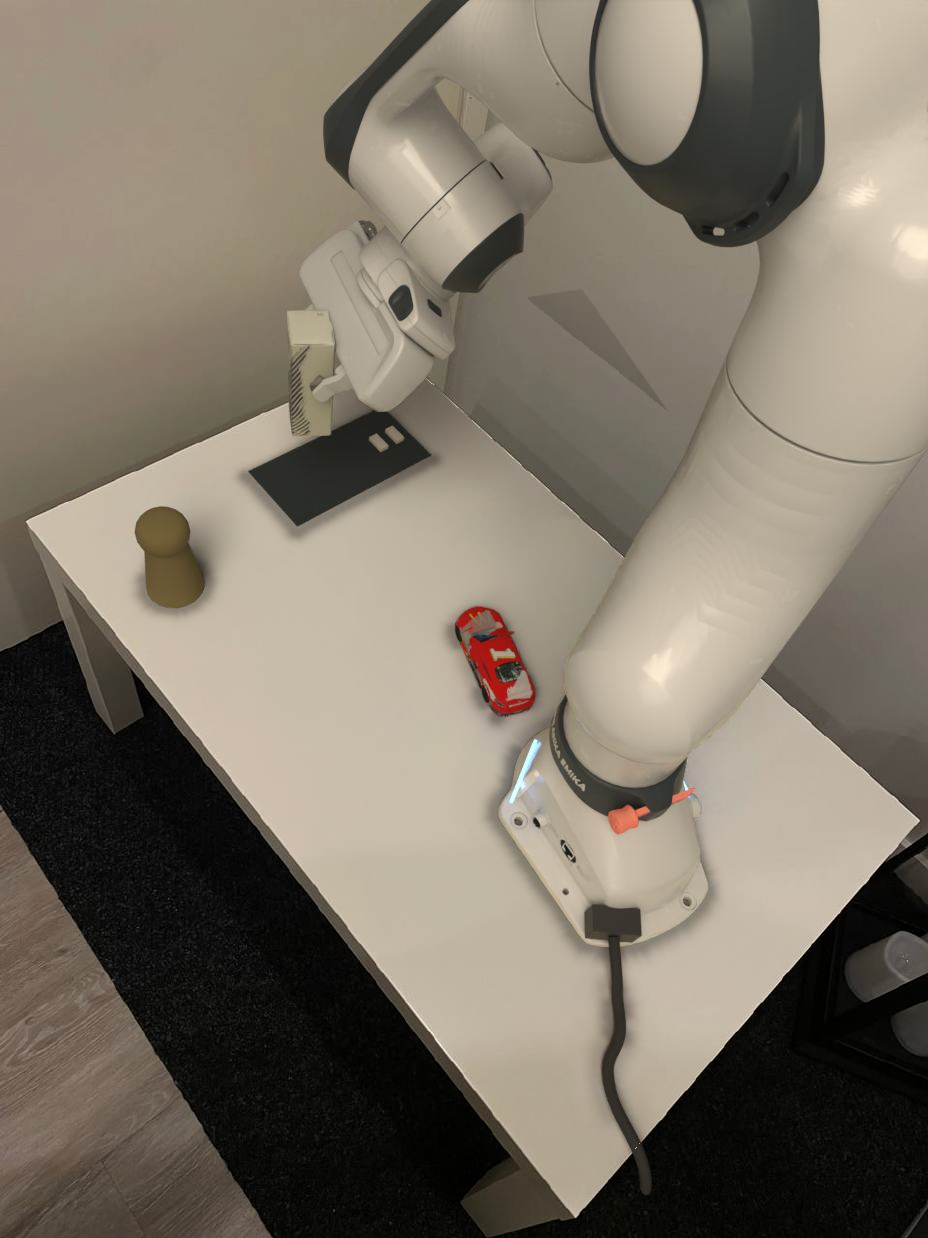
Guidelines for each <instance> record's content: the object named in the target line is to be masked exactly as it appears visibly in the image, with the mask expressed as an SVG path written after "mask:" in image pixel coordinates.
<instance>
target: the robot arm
mask: <svg viewBox="0 0 928 1238" xmlns="http://www.w3.org/2000/svg"><path fill="white" fill-rule="evenodd" d="M444 79H446V80H449V81H451V82H452V83H455V84H456V85H458V86H459V87H461V88H462V89H464V90H465V91H466V92H467V93H469V94H470V95H472V96H473V97H474V98H475V99H477V100H478V101H479V102H480V103H481V105H483V106H484V107H485V108H486V109H488V111H490V113H492V114H493V115H494V116H495V117H496V119H498V120H499V122H497V123H496V124H494V125H493V126H491V127H489V128H488V129H487V130H486V131H484V132H483V133H481V134H480V135H479V136H478V137H476V138H475V139H474V140H472V138H471V137H470V136H469V135H468V133H467V132H466V131H465V130H464V127H462V125H461V124H460V123H459V121H458V120H457V119H456V117H455V116H454V115H453V114H452V112H451V111H450V110H449V108H448V107H447V106H446V104H445V102H444V101H443V99H442V97H441V95H440V94H439V91H438V89H437V87H436V86H437V85H438V84H440V83H441V82H442V81H443V80H444ZM322 137H323V138H322V141H323V150H324V157H325V161H326V162H327V163H328V164H329V166H330V167H331V168H332V169H333V170H334V171H335V172H336V173H337V174H338V175H339V176H340V177H341V178H342V179H343V180H344V182H346V184H348V185H349V187H350V188H351V189H353V190H354V191H356V193H358V195H359V196H360V197H361V198H362V200H363V201H364V202H365V203H366V205H367V206H368V207H369V208H370V209H371V210H372V212H373V213H374V214H375V216H376V217H377V218H378V220H380V221H381V222H382V224H383V227H381V229H380V230H379V231H378V230H377V227H376V226H375V224H374V223H373V222H372V221H371V220H363V219H362V220H355V221H353V222H352V223H350V225H349V226H347V228H345V229H341V230H339V231H337V232H336V233H334V234H333V235H332V236H330V237H329V238H328V239H326V240H325V241H324V242H323V243H322V244H321V245H319V246H318V247H317V248H315V250H313V251H312V253H310V254H309V255H308V256H307V257H306V258H305V259H304V260H303V261H302V262H301V263H302V264H301V265H300V268H299V272H298V277H299V279H300V282H301V283H302V285H303V287H304V290H305V291H306V293H307V296H308V297H309V300H310V302H311V304H310V305H309V306H308V307H306V309H305V310H328V311H329V312H330V315H331V319H332V324H333V331H334V338H335V355H336V356H337V358H338V360H339V362H340V364H339V366H337V367H336V368H335V369H334V376H332V377H329V378H327V379H325V378H324V377H322V376H320V375H319V376H318V377H317V378H316V379H315V380H314V382H312V383H311V384H310V385H309V387H310V390H311V392H312V394H313V396H314V398H315V399H317V400H318V401H320V402H326V401H327V400H328V399H329V398H330V397H331V396H332V395H333V396H334V395H335V394H338V393H342V392H347V391H350V390H351V391H352V390H353V391H354V393H355V397H357V399H358V400H359V401H360V402H361V403H362V404H364V405H365V406H367V407H368V408H369V409H372V411H374V410H375V411H377V412H386V411H388V412H390V411H392V410H394V409H395V408H397V407H398V406H399V404H401V403H402V402H403V401H404V400H405V399H406V398H408V397H409V396H410V395H411V394H412V393H413V392H414V391H415V390H416V389H417V388H418V387H419V386H420V385H421V384H422V383H423V382H424V381H425V380H426V378H427V377H428V376H429V375H430V373H431V372H432V370H433V369H432V368H433V366H434V362H435V361H434V359H435V358H437V359H439V360H442V361H443V360H445V359H446V358H448V357H449V356H450V355H451V354H452V353H453V352H454V351H455V349H456V340H455V333H454V328H453V321H452V320H453V319H452V310H451V309H452V308H451V302H450V299H451V298H452V297H453V296H455V294H457V293H464V294H465V293H466V294H467V293H468V294H479V293H480V292H481V291H482V290H483V289H484V288H485V286H486V285H487V283H488V282H489V280H491V279H492V278H493V276H495V274H497V273H498V272H499V271H500V270H501V269H503V267H504V266H505V265H506V264H507V263H508V262H510V261H511V260H512V259H513V258H514V257H515V256H517V255H519V254H522V253H524V246H525V244H524V243H525V227H526V226H527V224H528V223H529V222H530V221H531V220H532V218H533V217H534V216H535V215H536V213H537V212H538V211H539V210H540V209H541V208H542V206H543V205H544V204H545V202H546V201H547V200H548V199H549V197H550V196H551V194H552V193H553V189H554V185H553V178H552V175H551V172H550V169H549V168H548V167H547V165H546V162H545V160H544V159H543V157H542V155H544V156H546V157H549V158H552V159H555V160H558V161H562V162H567V163H573V164H596V163H601V162H605V161H608V160H612V159H615V160H616V161H617V163H618V164H619V165H620V167H621V168H622V169H623V170H624V171H625V173H626V174H627V175H628V176H629V177H630V178H631V180H632V181H633V182H634V183H635V184H636V186H637V187H639V189H640V190H641V191H642V192H644V193H645V194H646V195H647V196H648V197H649V198H650V199H652V200H653V201H655V202H656V203H657V204H659V205H661V206H663V207H665V208H667V209H669V210H671V211H673V212H675V213H677V214H679V215H682V217H683V219H684V221H685V222H686V224H687V225H688V227H689V229H690V230H691V232H692V233H693V235H694V236H695V238H697V240H699V241H701V242H703V243H705V244H708V245H710V246H714V247H717V248H738V247H742V246H745V245H749V244H750V245H751V244H752V243H754V242H756V245H757V251H758V258H759V268H758V276H757V278H756V279H757V280H756V282H755V286H754V289H753V292H752V295H751V299H750V300H749V303H748V305H747V308H746V311H745V312H744V315H743V316H742V319H741V321H740V323H739V326H738V328H737V330H736V331H735V335H734V336H733V339H732V341H731V343H730V345H729V348H728V350H727V352H726V355H725V356H724V357H725V358H724V360H723V363H722V365H721V367H720V370H719V372H718V374H717V377H716V379H715V382H714V384H713V387H712V389H711V391H710V393H709V396H708V398H707V400H706V403H705V405H704V407H703V410H702V412H701V414H700V417H699V419H698V422H697V424H696V426H695V428H694V431H693V433H692V436H691V438H690V440H689V442H688V445H687V447H686V449H685V451H684V453H683V456H682V458H681V460H680V462H679V464H678V466H676V469H675V471H674V473H673V475H672V476H671V478H670V480H669V481H668V483H667V485H666V486H665V487H664V489H663V491H662V492H661V494H660V495H659V498H658V499H657V501H656V503H655V504H654V505H653V507H652V508H651V511H650V512H649V514H648V515H647V517H646V519H645V520H644V523H643V524H642V526H641V527H640V529H639V531H638V533H637V534H636V536H635V538H634V539H633V541H632V543H631V545H630V547H629V548H628V550H627V552H626V554H625V556H624V557H623V559H622V561H621V563H620V565H619V567H618V569H616V572H615V574H614V576H613V578H612V579H611V581H610V583H609V585H608V587H607V589H606V591H605V592H604V595H603V596H602V598H601V601H600V602H599V604H598V605H597V608H596V609H595V611H594V613H593V615H592V616H591V618H590V619H589V621H588V623H587V624H586V626H585V628H584V630H583V631H582V633H581V635H580V636H579V638H578V640H577V642H576V643H575V645H574V647H573V648H572V650H571V652H570V654H569V656H568V658H567V659H566V661H565V664H564V666H563V670H562V684H563V688H564V692H565V695H564V696H563V697H562V699H561V700H560V702H559V704H558V706H557V708H556V709H555V712H554V713H553V715H552V717H551V721H550V725H549V726H548V727H546V728H544V729H542V730H541V731H539V732H537V733H536V734H535V735H533V736H532V737H531V738H530V739H529V740H528V741H527V743H526V744H525V745H524V747H523V748H522V749H521V751H520V753H519V755H518V757H517V759H516V762H515V767H514V769H513V776H512V782H511V786H510V789H509V791H508V792H507V793H506V794H505V796H504V797H503V799H502V801H501V802H500V804H499V806H498V808H497V809H498V810H497V818H498V819H499V822H500V823H501V824H502V826H503V827H504V829H505V830H506V832H507V834H509V836H510V838H511V839H512V840H513V841H514V843H515V845H516V846H517V848H518V849H519V850H520V852H521V854H522V855H523V856H524V858H525V859H526V861H527V863H528V864H529V865H530V866H531V868H532V870H533V871H534V873H535V874H536V875H537V877H538V878H539V879H540V881H541V882H542V884H543V885H544V887H545V888H546V890H547V891H548V893H549V895H550V896H551V897H552V899H553V900H554V901H555V903H556V904H557V906H558V907H559V909H560V910H561V912H562V914H563V915H564V916H565V917H566V919H567V920H568V922H569V923H570V925H571V926H572V927H573V929H574V930H575V932H576V933H577V935H578V936H579V938H581V940H582V941H583V942H584V943H585V944H587V945H591V946H593V947H594V946H595V947H599V948H608V952H609V953H608V955H609V964H610V965H609V966H610V977H611V979H610V981H611V1005H612V1013H613V1021H614V1023H613V1024H614V1029H613V1036H612V1039H611V1041H610V1043H609V1045H608V1047H607V1049H606V1052H605V1053H604V1056H603V1059H602V1064H601V1076H602V1085H603V1090H604V1094H605V1097H606V1101H607V1104H608V1107H609V1108H610V1110H611V1113H612V1115H613V1117H614V1120H615V1121H616V1123H617V1125H618V1127H619V1129H620V1131H621V1133H622V1135H623V1137H624V1139H625V1141H626V1142H627V1145H628V1147H629V1148H630V1151H631V1153H632V1155H633V1159H634V1161H635V1164H636V1167H637V1170H638V1178H639V1179H638V1180H639V1190H640V1191H641V1193H642V1194H643V1195H644V1196H649V1195H650V1194H651V1193H652V1188H653V1187H652V1186H653V1179H652V1171H651V1167H650V1162H649V1159H648V1156H647V1154H646V1151H645V1149H644V1146H643V1144H642V1142H641V1139H640V1138H639V1135H638V1134H637V1132H636V1130H635V1128H634V1126H633V1124H632V1122H631V1121H630V1119H629V1117H628V1115H627V1113H626V1111H625V1109H624V1106H623V1104H622V1102H621V1100H620V1096H619V1093H618V1090H617V1086H616V1081H615V1064H616V1062H617V1059H618V1058H619V1056H620V1053H621V1051H622V1049H623V1047H624V1043H625V1039H626V1035H627V1034H626V1032H627V1019H626V1018H627V1017H626V1011H625V1005H624V1004H625V1003H624V981H623V980H624V979H623V964H622V953H621V947H627V946H632V945H636V944H639V943H643V942H645V941H649V940H650V939H654V938H655V937H658V936H660V935H662V934H664V933H666V932H668V931H670V930H672V929H673V928H675V927H677V926H678V925H680V924H682V922H684V921H686V919H688V918H689V917H690V916H691V915H693V913H694V912H695V911H696V910H697V909H698V907H700V905H701V904H702V902H703V901H704V900H705V897H706V896H707V893H708V892H709V882H708V879H707V876H706V873H705V870H704V866H703V863H702V861H701V848H700V844H699V839H698V834H697V830H696V827H695V826H696V825H695V824H694V823H695V822H694V820H695V819H699V817H701V816H702V814H703V809H702V803H701V801H700V799H699V797H698V796H697V795H696V794H694V792H695V791H696V790H697V788H696V787H691V788H688V786H687V784H686V782H685V779H684V778H685V773H686V769H687V763H688V757H689V756H690V755H691V754H692V753H693V751H694V750H696V749H697V748H698V747H699V746H701V745H702V744H703V743H704V742H705V741H707V740H708V739H709V738H710V737H711V736H712V735H713V734H715V733H717V731H718V730H719V729H721V727H723V726H724V725H725V724H726V723H727V722H728V721H729V720H730V719H731V718H732V717H733V716H734V715H735V714H736V713H737V712H738V710H739V709H740V707H742V705H743V703H745V701H746V699H747V698H748V697H749V695H750V694H751V693H752V692H753V690H754V689H755V687H756V686H757V685H758V683H759V682H760V681H761V679H762V677H764V675H765V673H767V671H768V670H769V669H770V667H771V666H772V664H773V663H774V662H775V660H776V659H777V658H778V656H779V655H780V653H781V652H782V651H783V649H784V648H785V647H786V646H787V644H788V642H789V641H790V640H791V639H792V637H793V636H794V634H795V633H796V632H797V630H798V629H799V628H800V626H801V625H802V624H803V623H804V621H805V620H806V619H807V617H808V616H809V614H810V613H811V612H812V610H813V609H814V607H815V606H816V605H817V603H818V602H819V601H820V599H821V597H822V596H823V594H824V592H825V591H826V590H827V588H828V587H829V586H830V584H831V583H832V582H833V580H834V579H835V578H836V577H837V575H838V573H839V572H840V571H841V570H842V568H843V567H844V565H845V564H846V563H847V561H848V560H849V559H850V557H851V556H852V555H853V553H854V552H855V550H856V549H857V548H858V546H859V545H860V544H861V542H862V541H863V539H864V538H865V537H866V535H867V534H868V533H869V531H870V530H871V529H872V527H873V526H874V525H875V523H876V521H877V520H878V519H879V518H880V517H881V515H882V514H883V512H884V511H885V509H886V508H887V507H888V506H889V504H890V503H891V501H892V500H893V499H894V497H895V496H896V494H897V493H898V491H899V490H900V489H901V487H903V485H904V484H905V482H906V481H907V479H908V478H909V477H910V475H911V474H912V473H913V472H914V470H915V469H916V467H917V466H918V464H919V463H920V462H921V460H922V459H923V458H924V456H925V455H926V453H927V452H928V0H430V1H429V2H428V3H427V4H426V5H425V6H424V7H423V8H422V9H420V11H419V12H417V14H416V15H415V16H414V17H413V18H412V19H411V20H410V21H409V22H408V23H407V25H406V26H405V27H404V28H403V29H402V30H401V31H400V32H399V33H398V34H397V35H396V36H395V38H393V40H391V41H390V43H389V44H388V45H387V46H386V47H385V48H384V49H383V50H382V52H381V53H380V54H379V55H378V56H377V57H376V58H375V59H374V61H372V62H371V63H369V64H368V65H366V66H365V67H363V68H361V69H360V70H359V71H357V72H356V73H355V74H353V76H351V77H350V78H349V79H348V80H347V81H346V82H344V84H343V85H342V86H341V88H340V89H338V91H337V92H336V94H334V97H333V98H332V100H331V102H330V104H329V105H328V108H327V110H326V111H325V113H324V114H323V122H322ZM541 154H542V155H541ZM715 228H716V229H721V230H723V231H724V233H723V234H722V235H721V234H715V233H714V230H715ZM434 357H435V358H434ZM515 820H516V821H517V820H518V821H519V822H520V825H517V824H516V823H515ZM564 892H565V893H564ZM684 900H687V902H688V905H686V904H685V903H684ZM639 1143H640V1144H639ZM636 1147H637V1148H636ZM635 1148H636V1149H635Z"/></svg>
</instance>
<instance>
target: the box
mask: <svg viewBox="0 0 928 1238" xmlns="http://www.w3.org/2000/svg"><path fill="white" fill-rule="evenodd" d="M286 326H287V329H286V330H287V378H288V382H287V384H288V387H287V389H288V413H289V425H290V431H291V436H292V437H320V436H328V435H331V431H332V430H333V408H334V407H333V404H334V394H333V395H332V396H331V397H330V398H329V399H328V400H327V401H326V402H320V401H318V400H317V399H315V398H314V396H313V394H312V392H311V390H310V387H309V385H310V384H311V383H312V382H314V380H315V379H316V378H317V377H318V376H319V375H320V376H322V377H324V378H325V379H327V378H329V377H332V376H335V363H336V362H335V360H336V352H335V338H334V331H333V324H332V319H331V315H330V312H329V311H328V310H306V309H302V310H301V309H299V310H298V309H297V310H296V309H295V310H293V309H292V310H291V309H290V310H289V309H288V310H287V311H286Z"/></svg>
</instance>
